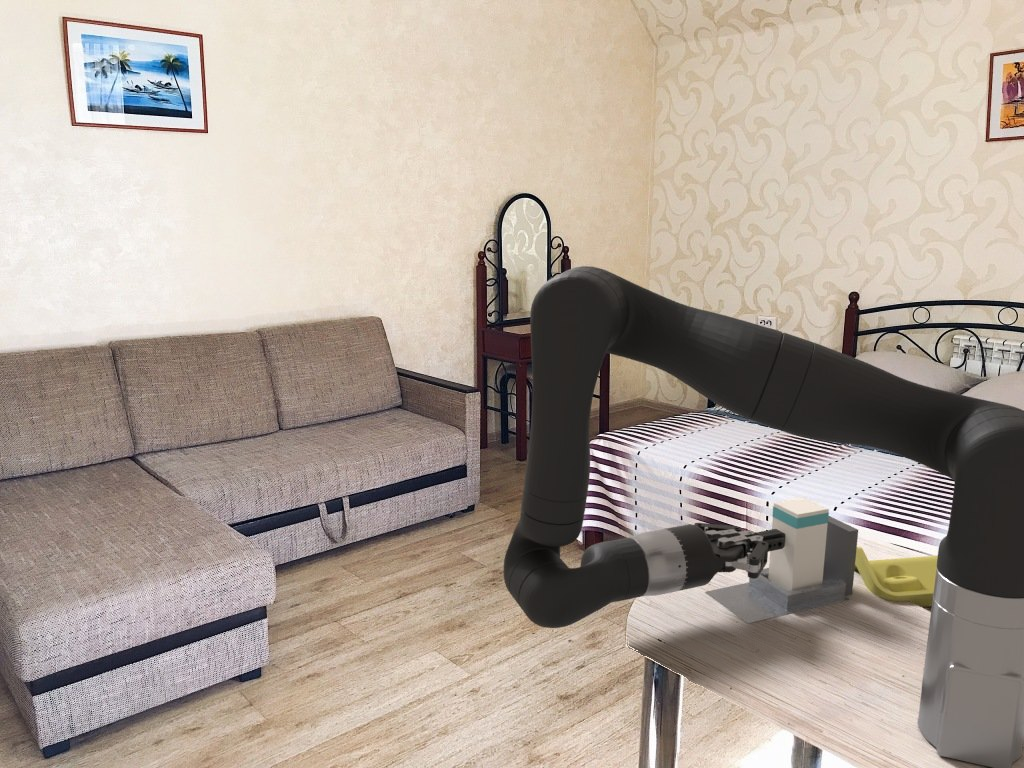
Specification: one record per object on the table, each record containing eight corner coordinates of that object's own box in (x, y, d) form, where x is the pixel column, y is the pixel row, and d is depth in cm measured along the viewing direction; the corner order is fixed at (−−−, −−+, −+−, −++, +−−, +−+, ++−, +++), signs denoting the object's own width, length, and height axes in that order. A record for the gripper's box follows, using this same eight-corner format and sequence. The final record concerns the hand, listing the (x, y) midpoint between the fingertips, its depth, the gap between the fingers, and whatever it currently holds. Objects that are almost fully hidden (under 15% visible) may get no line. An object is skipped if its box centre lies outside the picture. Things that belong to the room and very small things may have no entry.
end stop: (842, 606, 111) (849, 531, 108) (804, 584, 117) (810, 512, 115) (851, 604, 111) (858, 529, 109) (813, 582, 118) (819, 511, 115)
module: (790, 602, 109) (797, 514, 106) (767, 587, 113) (773, 502, 110) (821, 595, 110) (829, 508, 108) (797, 581, 115) (804, 497, 112)
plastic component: (881, 597, 108) (853, 537, 116) (869, 631, 113) (843, 572, 121) (1035, 585, 108) (996, 527, 116) (1017, 620, 113) (981, 561, 121)
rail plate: (747, 634, 104) (748, 608, 103) (703, 602, 112) (705, 577, 111) (847, 610, 110) (850, 585, 109) (799, 581, 118) (801, 558, 117)
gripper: (699, 552, 95) (820, 529, 102) (638, 512, 107) (750, 494, 114) (696, 613, 97) (815, 586, 104) (636, 567, 109) (746, 546, 115)
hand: (781, 538), depth 109 cm, fingers closed
